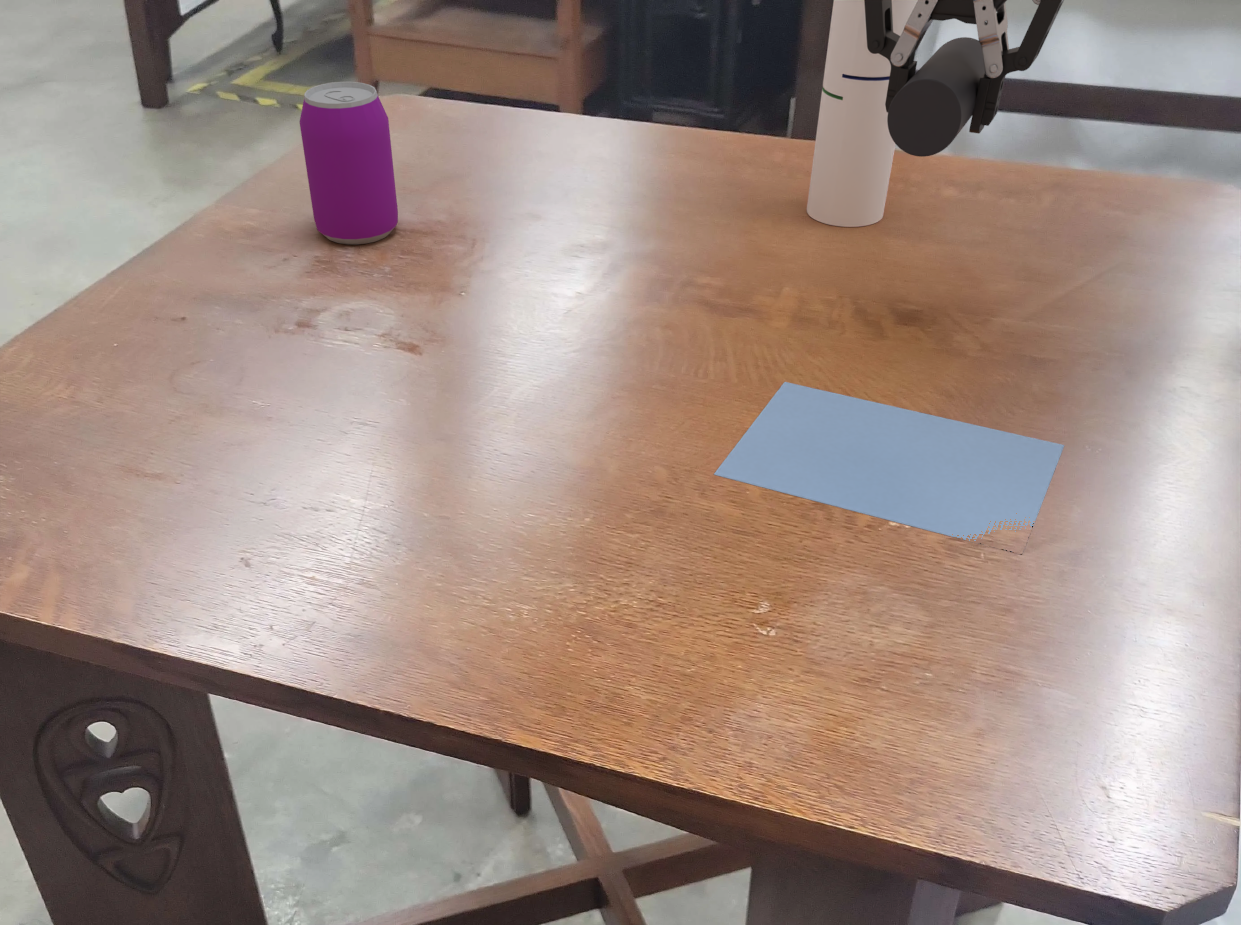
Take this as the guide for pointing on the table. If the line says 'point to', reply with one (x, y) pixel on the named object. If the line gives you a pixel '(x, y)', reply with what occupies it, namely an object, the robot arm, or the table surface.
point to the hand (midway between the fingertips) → (937, 123)
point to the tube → (937, 99)
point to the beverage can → (349, 162)
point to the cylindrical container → (853, 122)
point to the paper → (893, 463)
